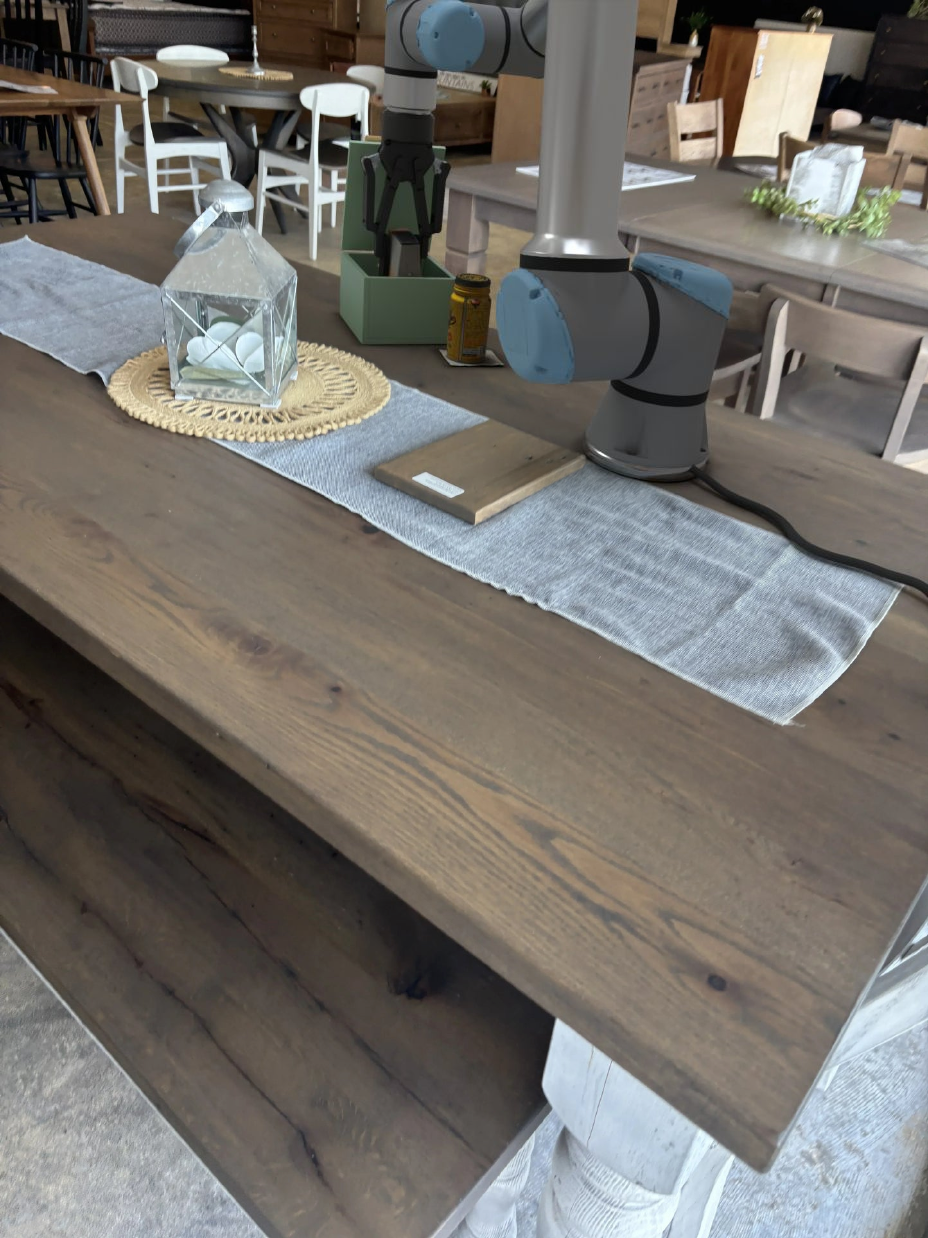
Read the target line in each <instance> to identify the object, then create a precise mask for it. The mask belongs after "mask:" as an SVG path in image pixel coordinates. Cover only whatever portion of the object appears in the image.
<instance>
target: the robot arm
mask: <svg viewBox="0 0 928 1238" xmlns="http://www.w3.org/2000/svg"><path fill="white" fill-rule="evenodd" d="M639 4H640V0H527V1H525V2H524V3H523V5H522V6H521V7H519V8H518V7H517V8H516V7H509V6H508V7H507V6H501V5H492V4H491V5H490V4H482V3H474V2H467V1H463V0H386V4H385V17H386V18H385V36H384V37H385V40H384V45H385V46H384V67H383V68H384V69H383V71H384V73H383V92H382V104H383V105H384V106H386V109H385V108H384V109H383V111H382V112H381V133H380V134H381V135H380V136H381V144H380V147H379V148H378V151H377V153H375V154H372V155H370V156H365V155H363V156H361V157H360V163H361V166H362V170H363V173H364V176H363V216H362V224H363V226H364V227H365V228H366V229H367V230H368V231H371V232H373V233H374V251H373V253H374V255H375V256H376V257H379V277H388V264H389V244H390V237H389V236H388V235H387V234H386V233H385V232H386V228H387V224H388V220H389V217H390V213H391V209H392V205H393V201H394V198H395V194H396V190H397V189H398V186H399V183H400V182H406V181H408V182H410V183H411V186H412V189H413V196H414V203H415V210H416V217H417V224H418V231H419V234H413V235H414V236H415V237H416V239H417V240H418V242H419V243H420V264H421V262H422V259H426V258H427V256H428V254H429V252H428V245H429V238H430V237H431V236H432V237H433V235H435V234H440V233H441V232H442V230H443V222H444V221H443V219H444V210H445V209H444V208H445V198H446V186H447V179H448V177H449V176H450V175H449V174H450V172H451V168H452V165H451V163H449V162H447V161H446V160H445V159H444V160H439V159H438V158H436V157H435V154H434V151H433V146H434V145H433V144H434V135H435V120H436V119H435V116H434V114H433V113H432V112H433V111H435V110H436V107H437V91H438V78H439V71H440V72H450V73H458V72H470V73H471V72H473V73H485V74H496V75H506V76H514V77H515V76H516V77H526V78H532V79H536V80H543V87H542V88H543V89H542V105H541V124H540V140H539V141H540V143H539V160H538V179H537V181H538V182H537V196H536V197H537V198H536V216H535V232H534V234H533V235H532V237H531V238H530V239H529V240H528V241H527V243H525V244H524V246H522V248H521V249H520V250H519V266H518V268H515V269H514V270H512V271H510V272H509V273H507V274H506V275H505V276H504V277H503V278H502V280H501V282H500V284H499V285H500V286H499V287H500V288H499V290H497V294H496V299H495V300H496V301H495V318H496V319H495V322H496V330H497V335H498V339H499V342H500V346H501V349H502V352H503V354H504V355H505V358H506V361H507V362H508V364H509V366H510V367H511V369H512V370H513V371H514V372H515V373H516V375H517V376H519V377H520V378H521V379H523V380H524V381H527V382H529V383H533V384H554V385H558V386H564V385H566V384H569V383H582V382H583V383H584V382H586V383H587V382H599V381H600V382H602V381H609V386H608V390H607V391H606V393H605V394H604V397H603V399H602V401H601V402H600V403H599V406H598V408H597V409H596V411H595V413H594V414H593V418H592V419H591V421H590V423H589V424H588V426H587V428H586V430H585V432H584V438H583V445H582V449H583V451H584V453H585V454H586V456H587V458H589V459H590V460H592V462H594V463H596V464H597V465H598V466H600V467H603V468H605V469H606V470H609V471H611V472H614V473H617V474H619V475H623V476H626V477H629V478H635V479H639V480H644V481H651V482H654V481H655V482H680V481H681V482H682V481H686V480H690V479H693V478H695V477H696V478H698V479H699V480H701V482H703V483H705V484H706V485H707V486H708V487H710V488H711V489H712V490H713V491H715V492H716V493H717V494H719V495H720V496H722V497H723V498H725V499H727V500H729V501H731V502H733V503H735V504H737V505H739V506H742V507H744V508H747V509H749V510H752V511H754V512H757V513H758V514H761V515H763V516H764V517H766V518H768V519H770V520H771V521H773V522H775V523H776V524H777V525H778V526H779V527H780V528H781V529H782V531H783V532H784V534H785V535H786V537H788V538H789V539H790V540H791V541H792V543H794V544H795V545H796V546H798V547H799V548H800V549H802V550H803V551H805V552H807V553H808V554H811V555H812V556H815V557H817V558H820V559H822V560H826V561H829V562H832V563H836V564H840V565H842V566H843V565H844V566H847V567H851V568H854V569H858V570H861V571H865V572H867V573H870V574H872V575H876V576H878V577H880V578H882V579H886V580H889V581H892V582H896V583H899V584H903V585H906V586H909V587H912V588H914V589H916V590H917V591H919V592H921V593H922V594H923V595H924V596H925V597H926V598H927V599H928V583H927V582H925V581H924V580H921V579H919V578H918V577H915V576H911V575H909V574H905V573H903V572H898V571H895V570H891V569H889V568H886V567H883V566H880V565H878V564H875V563H872V562H870V561H867V560H863V559H860V558H857V557H853V556H849V555H845V554H842V553H837V552H834V551H831V550H827V549H825V548H822V547H820V546H817V545H815V544H814V543H812V542H809V541H808V540H806V539H805V538H804V537H802V535H801V534H799V533H798V532H797V530H796V529H795V528H794V526H793V525H792V524H791V523H790V522H789V521H788V519H786V518H785V517H784V516H783V515H781V514H780V513H778V512H777V511H775V510H774V509H772V508H770V507H768V506H766V505H764V504H762V503H759V502H757V501H756V500H755V501H754V500H751V499H749V498H747V497H745V496H743V495H740V494H738V493H736V492H734V491H732V490H730V489H729V488H727V487H725V486H723V485H722V484H721V483H719V482H718V481H717V480H716V479H715V478H713V477H712V476H711V475H709V474H708V473H706V472H705V469H706V464H707V461H708V458H709V442H708V441H709V439H708V437H709V436H708V424H707V411H706V410H707V409H706V405H707V400H708V396H709V394H710V393H709V392H710V389H711V384H712V380H713V377H714V373H715V369H716V366H717V362H718V357H719V354H720V351H721V346H722V344H723V341H724V340H723V339H724V336H725V332H726V329H727V325H728V321H729V320H730V319H731V318H730V317H731V315H730V311H731V310H730V309H731V305H732V300H733V295H734V285H733V283H732V280H731V279H730V278H729V277H728V276H727V275H725V274H724V273H722V272H720V271H718V270H715V269H713V268H710V267H708V266H706V265H702V264H699V263H696V262H693V261H690V260H685V259H682V258H678V257H674V256H670V255H666V254H660V253H654V252H638V253H637V254H636V255H634V257H633V260H632V262H631V252H629V250H628V249H627V248H626V246H625V245H624V244H623V242H622V241H621V240H620V238H619V237H620V236H619V226H620V225H619V223H620V213H621V212H620V211H621V200H622V192H623V191H622V189H623V180H624V178H623V177H624V171H625V170H624V168H625V159H626V157H625V156H626V147H627V136H628V123H629V115H630V113H629V112H630V103H631V92H632V91H631V90H632V82H633V81H632V80H633V71H634V70H633V68H634V58H635V45H636V37H637V26H638V13H639ZM379 162H381V164H382V165H383V167H384V169H385V171H386V172H387V174H386V178H385V185H384V189H383V193H382V197H381V201H380V205H379V209H378V213H377V217H376V221H375V223H374V209H375V171H377V169H378V163H379ZM431 165H433V173H434V180H433V191H432V204H431V216H430V224H429V219H428V212H427V205H426V197H425V183H424V175H425V174H426V172H427V171H428V170H429V168H430V167H431ZM630 262H631V263H630ZM630 267H631V270H630Z"/></svg>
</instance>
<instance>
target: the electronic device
mask: <svg viewBox="0 0 928 1238" xmlns="http://www.w3.org/2000/svg"><path fill="white" fill-rule="evenodd" d="M388 236H389V237H390V244H389V264H388V277H421V264H420V243H419V242H418V240H417V239H416V237H415V236H414V235H413V233H412V232H411V231H410V230H409V229H405V228H399V229H398V228H395V229H390V230H389V231H388ZM378 267H379V264H378Z"/></svg>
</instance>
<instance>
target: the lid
mask: <svg viewBox="0 0 928 1238" xmlns="http://www.w3.org/2000/svg"><path fill="white" fill-rule="evenodd" d="M380 144H381V135H369V134H368V135H367V134H366V135H365V136H364V140H354V139H353V140H352V139H349V140H348V150H347V165H346V175H345V187H344V201H343V213H342V224H341V238H340V250H341V251H357V252H358V251H361V252H362V251H363V252H364V251H365V252H374V233H373V232H371V231H368V230H367V229H366V228H365V227H364V226H363V224H362V216H363V176H364V173H363V170H362V166H361V163H360V157H361V156H363V155H365V156H370V155H372V154H375V153H377V151H378V148H379V147H380ZM433 151H434V154H435V157H436V158H438V159H439V160H444V161H445V157H446V151H447V148H446V146H443V145H442V146H441V145H433ZM386 174H387V172H386V171H385V169H384V167H383V165H382V164H381V162H379V163H378V169H377V171H375V209H374V223H375V221H376V217H377V213H378V209H379V205H380V201H381V197H382V193H383V189H384V185H385V178H386ZM433 180H434V173H433V165H431V167H430V168H429V170H428V171H427V172H426V174H425V175H424V183H425V197H426V205H427V212H428V219H429V224H430V216H431V204H432V191H433ZM395 228H398V229H399V228H405V229H409V230H410V231H411V232H412V233H413V234H419V231H418V224H417V217H416V210H415V203H414V196H413V189H412V186H411V183H410V182H408V181H406V182H400V183H399V186H398V189H397V190H396V194H395V198H394V201H393V205H392V209H391V213H390V217H389V220H388V224H387V228H386V232H385V233H386V234H387V235H388V231H389V230H390V229H395ZM432 239H433V235H432V236H431V237H430V238H429V245H428V253H430V251H431V247H432V246H431V245H432Z"/></svg>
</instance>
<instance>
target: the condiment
mask: <svg viewBox="0 0 928 1238" xmlns="http://www.w3.org/2000/svg"><path fill="white" fill-rule="evenodd" d="M455 277H456V278H455V287H454V290H455V291H454V293H453V294H452V295H451V301H450V303H451V304H450V315H449V326H448V337H447V344H446V349H439V352H440V353H441V355H442V357H443V358H444V359H445V360H446V361H447V362H448V364H449V365H450V366H459V367H460V366H462V367H463V366H466V367H467V366H468V367H472V366H473V367H474V366H475V367H476V366H498V365H499V366H505V363H503V362H502V361H501V360H500V359H499V358H498V357H497V355H496V354H495V353H494V352H493V351H492V349H487V347H488V337H489V329H490V327H489V326H490V318H491V311H492V310H491V309H492V297H491V296H490V293H491V285H492V281H491V278H489V277H488V276H486V275H482V274H478V273H471V272H467V273H466V272H465V273H459V274H457V275H456V276H455Z"/></svg>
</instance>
